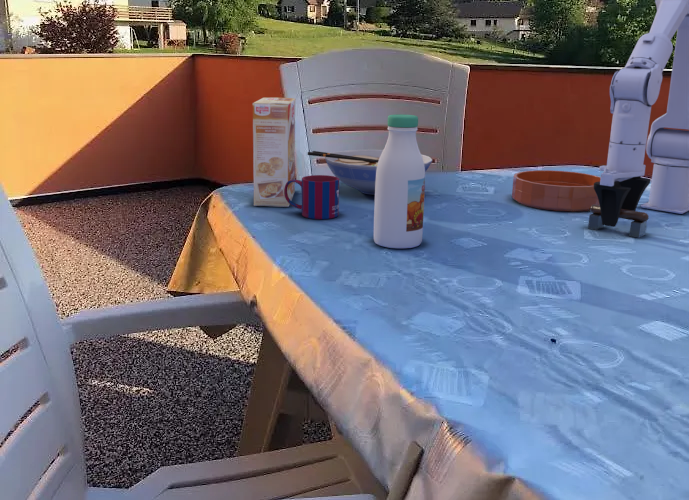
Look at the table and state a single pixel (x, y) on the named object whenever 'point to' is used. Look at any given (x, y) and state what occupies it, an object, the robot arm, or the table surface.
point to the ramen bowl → (357, 167)
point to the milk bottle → (400, 186)
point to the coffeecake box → (273, 150)
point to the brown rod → (624, 214)
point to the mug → (317, 196)
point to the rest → (635, 229)
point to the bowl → (555, 190)
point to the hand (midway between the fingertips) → (617, 222)
